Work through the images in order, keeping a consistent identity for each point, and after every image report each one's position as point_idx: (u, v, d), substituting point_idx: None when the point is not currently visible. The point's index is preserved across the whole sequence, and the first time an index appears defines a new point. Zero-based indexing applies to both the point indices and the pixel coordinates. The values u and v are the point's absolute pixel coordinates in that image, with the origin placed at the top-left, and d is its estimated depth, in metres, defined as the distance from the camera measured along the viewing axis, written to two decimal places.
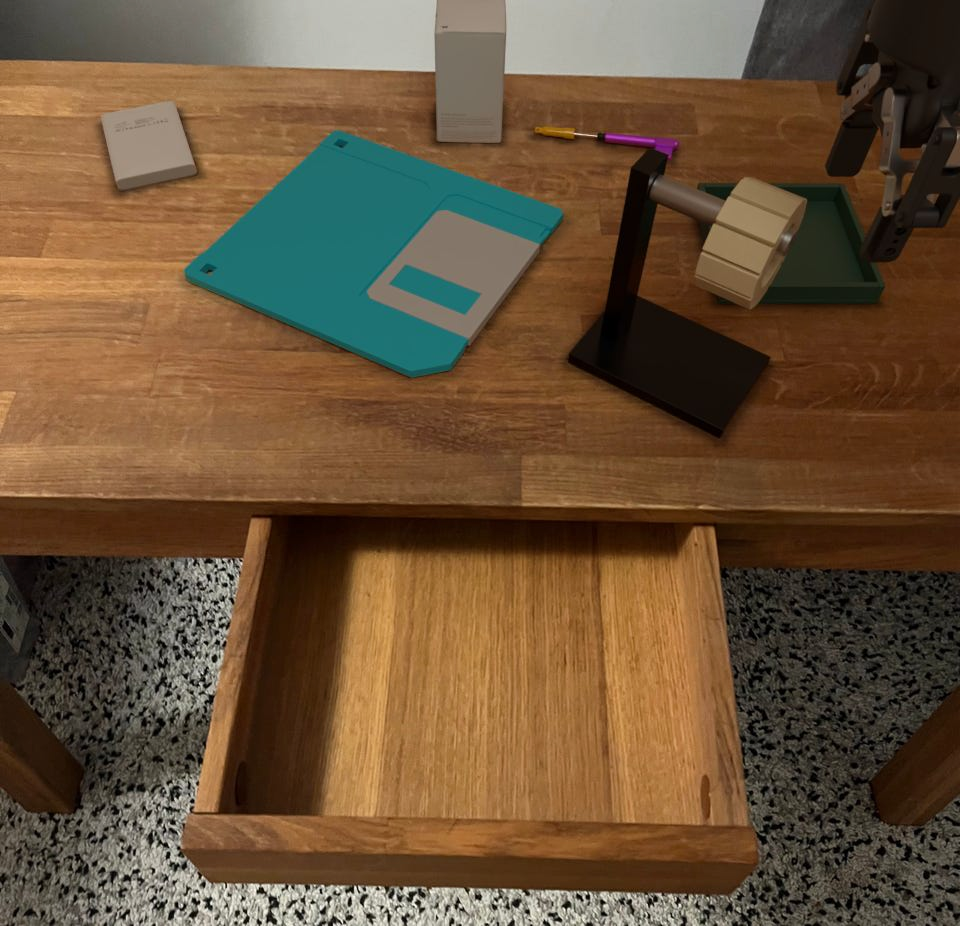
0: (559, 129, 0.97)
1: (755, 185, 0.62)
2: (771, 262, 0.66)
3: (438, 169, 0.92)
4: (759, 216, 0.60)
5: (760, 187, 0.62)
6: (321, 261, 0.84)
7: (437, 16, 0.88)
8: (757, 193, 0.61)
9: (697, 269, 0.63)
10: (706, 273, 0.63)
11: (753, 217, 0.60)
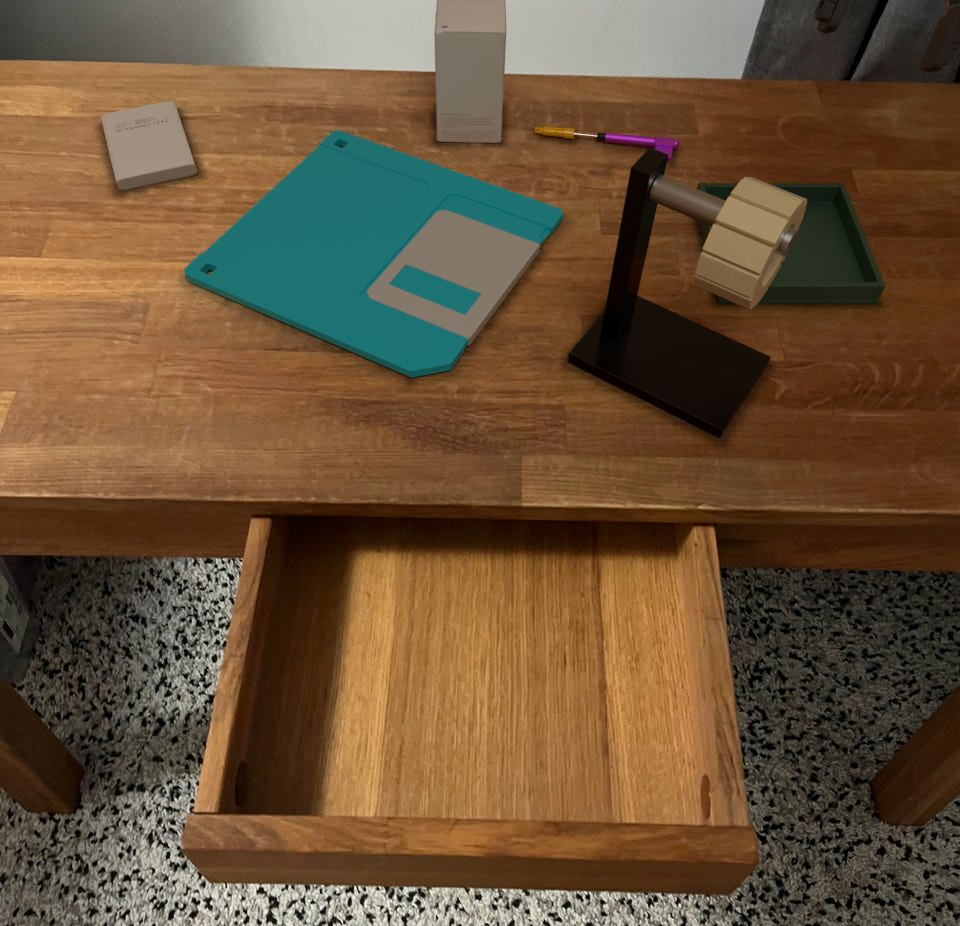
0: (559, 129, 0.97)
1: (755, 185, 0.62)
2: (771, 262, 0.66)
3: (438, 169, 0.92)
4: (759, 216, 0.60)
5: (760, 187, 0.62)
6: (321, 261, 0.84)
7: (437, 16, 0.88)
8: (757, 193, 0.61)
9: (697, 269, 0.63)
10: (706, 273, 0.63)
11: (753, 217, 0.60)
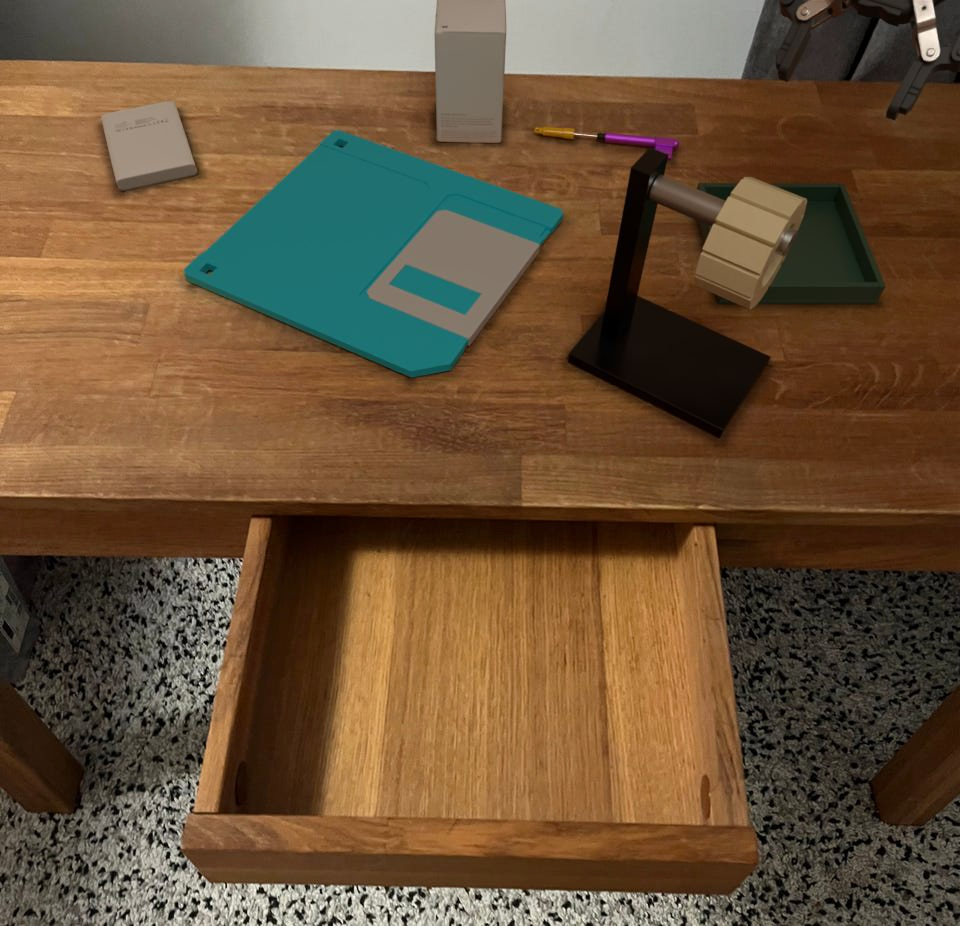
0: (559, 129, 0.97)
1: (755, 185, 0.62)
2: (771, 262, 0.66)
3: (438, 169, 0.92)
4: (759, 216, 0.60)
5: (760, 187, 0.62)
6: (321, 261, 0.84)
7: (437, 16, 0.88)
8: (757, 194, 0.61)
9: (697, 269, 0.64)
10: (706, 273, 0.63)
11: (753, 217, 0.60)
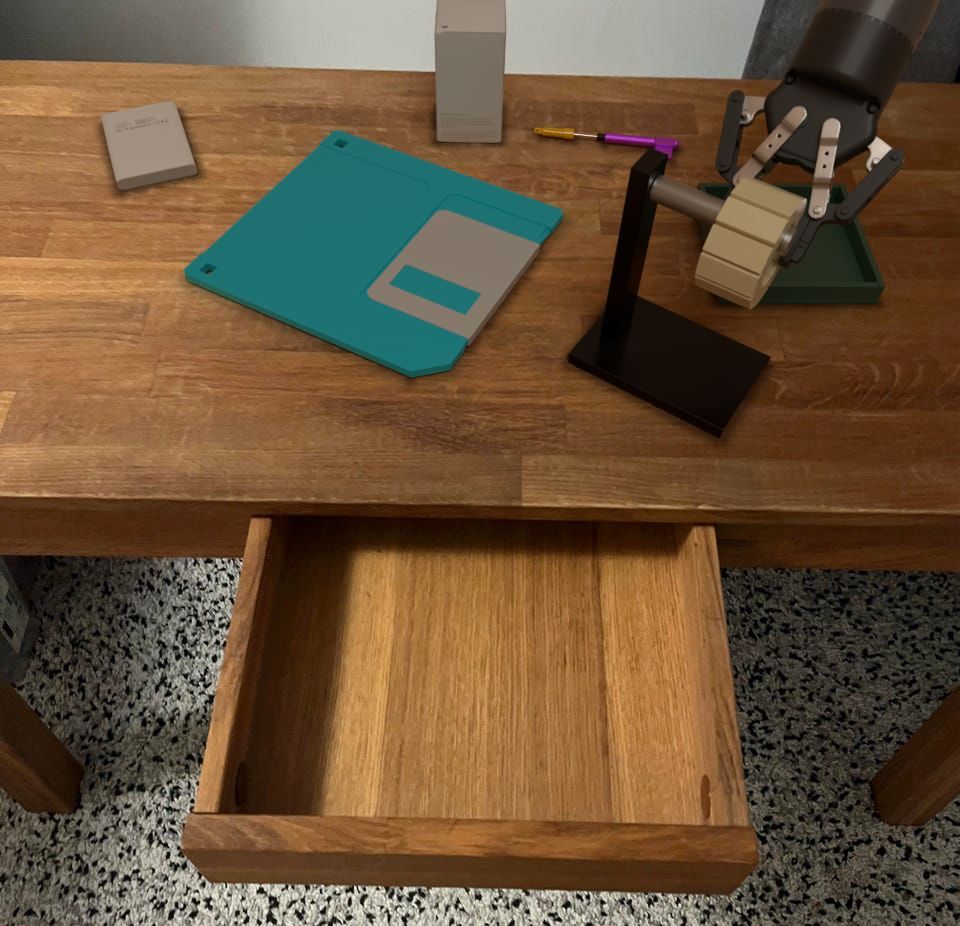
0: (559, 130, 0.97)
1: (755, 185, 0.62)
2: (771, 262, 0.66)
3: (438, 169, 0.92)
4: (759, 216, 0.60)
5: (760, 187, 0.62)
6: (321, 261, 0.84)
7: (437, 16, 0.88)
8: (757, 193, 0.61)
9: (697, 269, 0.63)
10: (706, 273, 0.63)
11: (753, 217, 0.60)
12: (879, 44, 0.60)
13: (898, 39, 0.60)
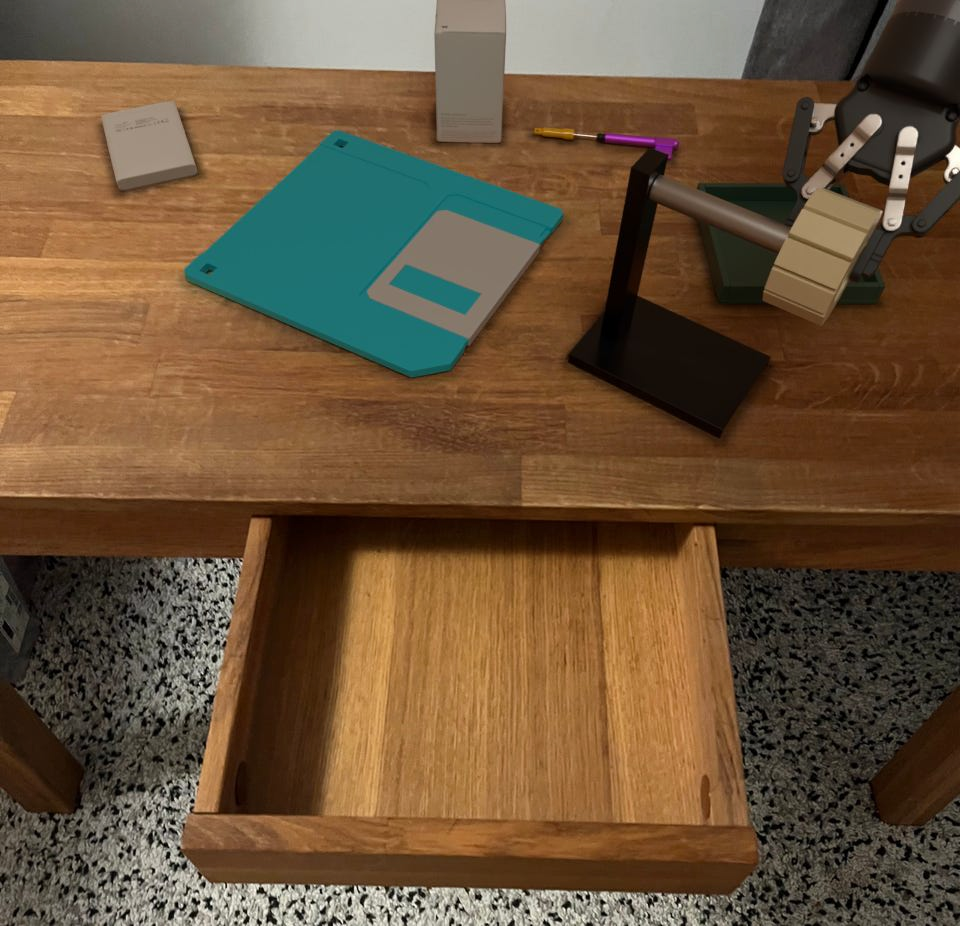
0: (559, 130, 0.97)
1: (829, 197, 0.59)
2: None
3: (438, 169, 0.92)
4: (835, 229, 0.58)
5: (835, 199, 0.59)
6: (321, 261, 0.84)
7: (437, 16, 0.88)
8: (832, 205, 0.59)
9: (767, 284, 0.61)
10: (777, 288, 0.61)
11: (829, 230, 0.58)
12: None
13: None
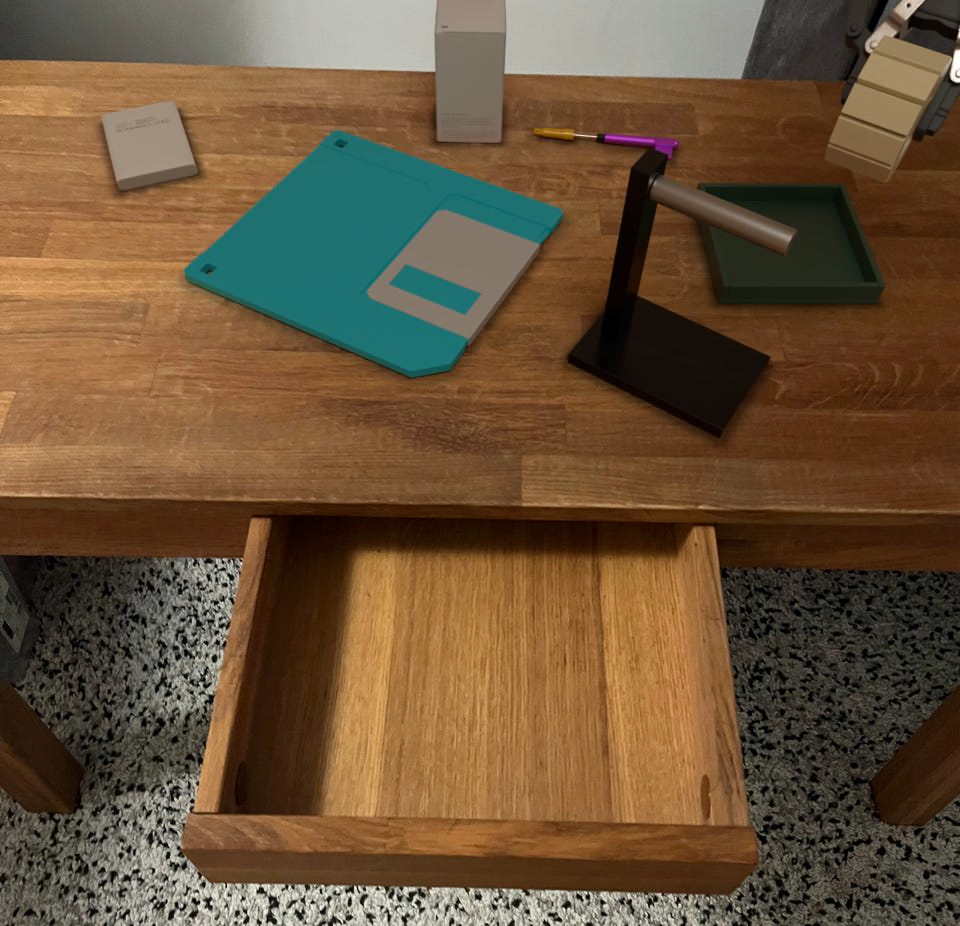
0: (558, 130, 0.97)
1: (899, 42, 0.57)
2: None
3: (438, 169, 0.92)
4: (907, 72, 0.56)
5: (904, 44, 0.57)
6: (321, 261, 0.84)
7: (437, 16, 0.88)
8: (902, 50, 0.57)
9: (832, 136, 0.59)
10: (842, 140, 0.59)
11: (900, 73, 0.56)
12: None
13: None
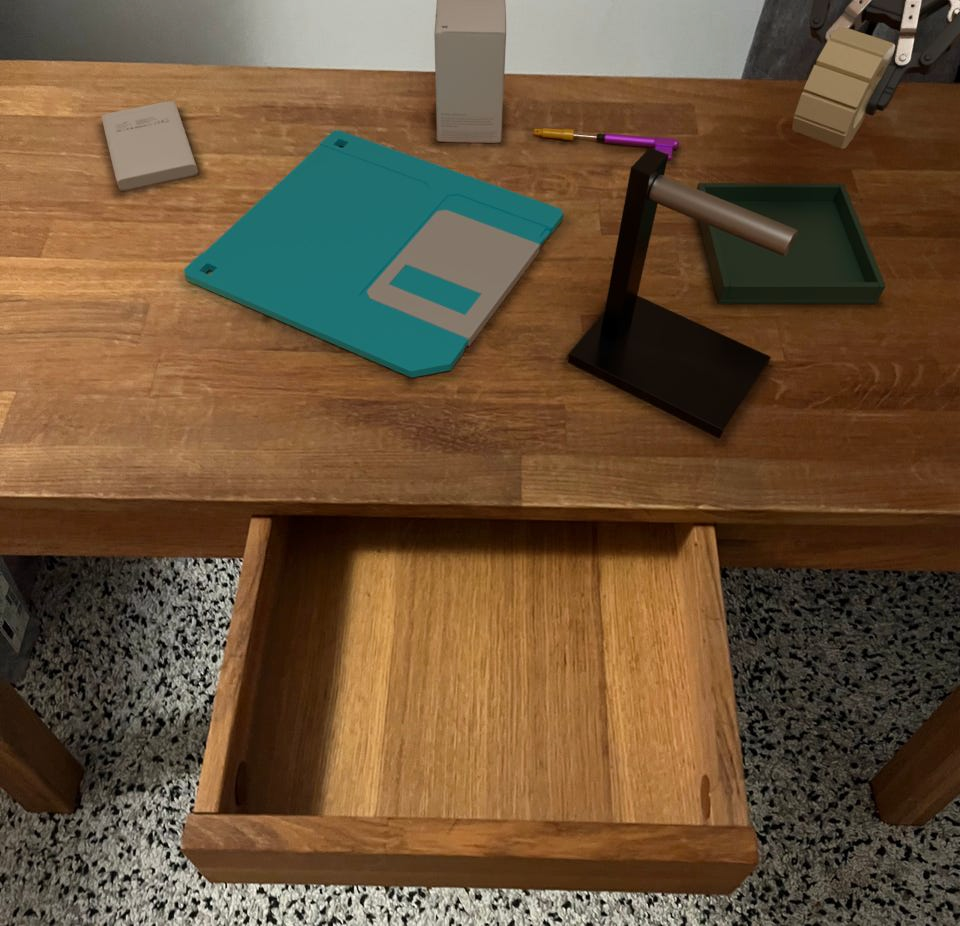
0: (558, 131, 0.96)
1: (851, 31, 0.70)
2: (859, 109, 0.74)
3: (438, 169, 0.92)
4: (856, 56, 0.69)
5: (855, 33, 0.70)
6: (321, 261, 0.84)
7: (437, 16, 0.88)
8: (853, 38, 0.69)
9: (797, 109, 0.72)
10: (805, 112, 0.72)
11: (851, 56, 0.69)
12: None
13: None
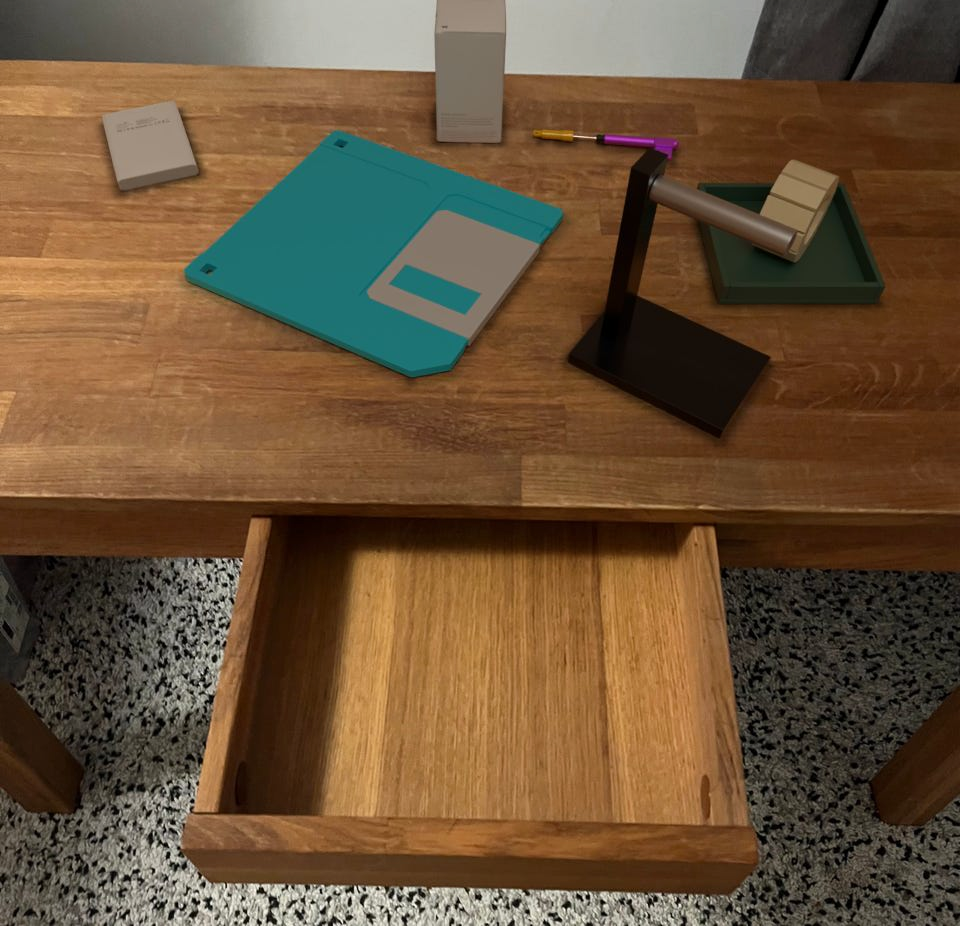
0: (558, 132, 0.96)
1: (800, 165, 0.81)
2: (810, 226, 0.85)
3: (438, 169, 0.92)
4: (804, 189, 0.79)
5: (804, 167, 0.81)
6: (321, 261, 0.84)
7: (437, 16, 0.88)
8: (802, 172, 0.80)
9: None
10: None
11: (799, 189, 0.80)
12: None
13: None
